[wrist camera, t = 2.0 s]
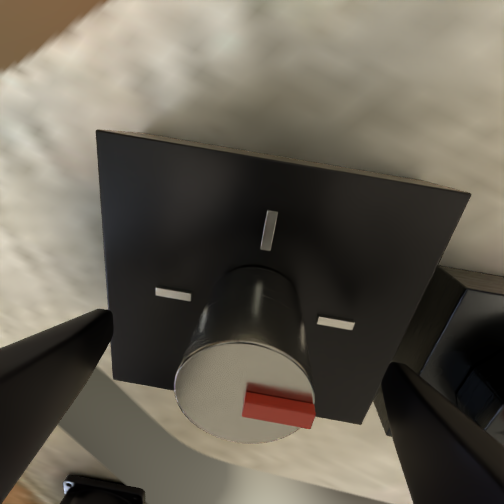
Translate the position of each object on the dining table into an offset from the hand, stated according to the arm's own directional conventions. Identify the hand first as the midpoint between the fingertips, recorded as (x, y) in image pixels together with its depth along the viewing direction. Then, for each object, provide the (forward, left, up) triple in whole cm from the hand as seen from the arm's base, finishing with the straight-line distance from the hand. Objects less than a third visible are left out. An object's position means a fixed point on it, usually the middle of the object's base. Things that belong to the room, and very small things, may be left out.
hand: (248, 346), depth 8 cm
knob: (0, 0, -2) cm, 2 cm away
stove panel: (0, 0, -5) cm, 5 cm away
